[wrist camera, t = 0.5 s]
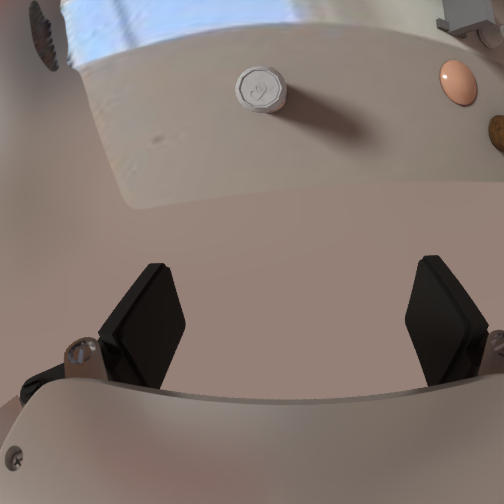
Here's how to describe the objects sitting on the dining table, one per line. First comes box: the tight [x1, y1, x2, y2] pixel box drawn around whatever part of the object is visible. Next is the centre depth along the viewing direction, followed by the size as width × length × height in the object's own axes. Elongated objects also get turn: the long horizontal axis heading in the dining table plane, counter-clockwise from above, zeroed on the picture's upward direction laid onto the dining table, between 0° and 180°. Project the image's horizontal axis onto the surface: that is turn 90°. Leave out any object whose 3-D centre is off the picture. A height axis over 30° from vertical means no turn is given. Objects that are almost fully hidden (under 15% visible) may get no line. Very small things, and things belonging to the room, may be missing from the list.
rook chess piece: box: [478, 25, 504, 49], centre depth 17 cm, size 4×4×8 cm
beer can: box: [235, 66, 287, 113], centre depth 28 cm, size 5×5×12 cm
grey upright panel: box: [436, 0, 496, 39], centre depth 16 cm, size 10×5×11 cm, turn 179°
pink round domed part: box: [440, 60, 477, 105], centre depth 26 cm, size 7×7×1 cm
